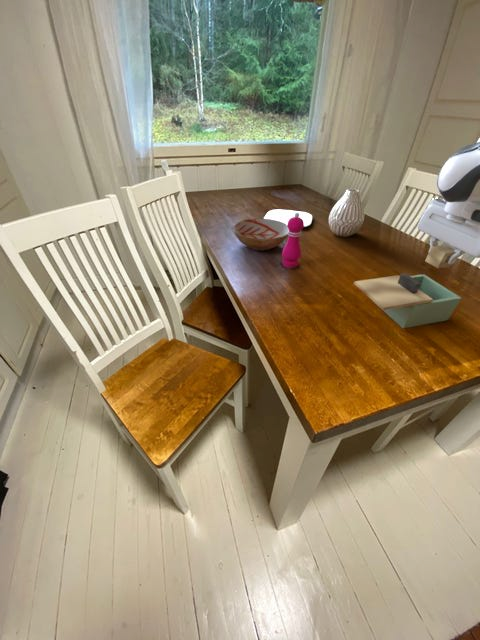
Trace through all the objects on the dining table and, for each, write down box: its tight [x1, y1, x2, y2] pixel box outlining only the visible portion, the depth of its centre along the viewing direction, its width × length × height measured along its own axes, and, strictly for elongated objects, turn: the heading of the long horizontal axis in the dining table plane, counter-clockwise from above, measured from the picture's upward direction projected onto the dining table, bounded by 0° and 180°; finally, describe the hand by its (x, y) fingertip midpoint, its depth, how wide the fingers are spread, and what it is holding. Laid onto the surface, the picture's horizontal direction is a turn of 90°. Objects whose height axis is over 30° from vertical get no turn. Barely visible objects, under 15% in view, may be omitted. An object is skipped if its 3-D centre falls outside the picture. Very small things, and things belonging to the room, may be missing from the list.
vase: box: [328, 188, 365, 238], centre depth 128 cm, size 16×16×20 cm
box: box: [372, 273, 462, 329], centre depth 83 cm, size 14×16×8 cm
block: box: [425, 244, 456, 269], centre depth 74 cm, size 4×4×4 cm
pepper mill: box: [281, 213, 305, 268], centre depth 103 cm, size 7×7×20 cm
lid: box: [353, 272, 433, 311], centre depth 77 cm, size 14×16×4 cm
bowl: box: [232, 217, 289, 252], centre depth 120 cm, size 25×25×8 cm
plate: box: [263, 209, 313, 228], centre depth 148 cm, size 25×25×2 cm
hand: (440, 258), depth 75 cm, fingers closed on block, 4 cm apart
